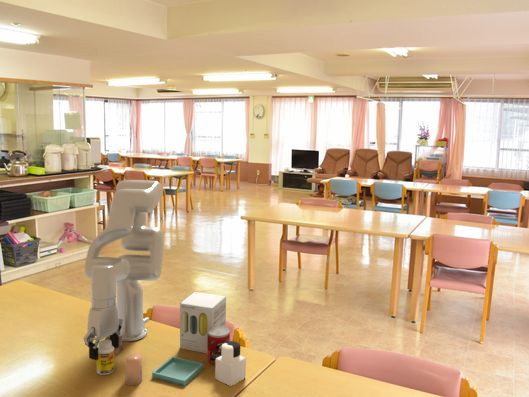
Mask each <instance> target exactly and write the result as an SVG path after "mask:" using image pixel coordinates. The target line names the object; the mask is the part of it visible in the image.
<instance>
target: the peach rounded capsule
mask: <svg viewBox="0 0 529 397" xmlns="http://www.w3.org/2000/svg"><path fill="white" fill-rule="evenodd" d="M142 382H143V355H142V354H139V353H130V354H128V355H126V356H125V384H126V385H128V386H139V385H140V384H141V383H142Z"/></svg>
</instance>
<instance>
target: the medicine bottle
mask: <svg viewBox="0 0 529 397" xmlns="http://www.w3.org/2000/svg"><path fill="white" fill-rule="evenodd" d="M246 363H247V358H246V357H245V356H242V355H241V344H240V343H239V342H238V341H233V340H230V341H228V342H225V343H223V344H222V351H221V356H220V357H218V358H216V360H215V371H214V372H215V373H214V375H215V376H214V379H215V380H217V381H219V382H221V383H223V384H225V385H226V384H227V386H228V385H229V387H233V386H234V385H236V384H238V383H240V382H241V381H243V380H244V378H245V379H246V371H247V369H246V368H247V367H246V366H247V364H246ZM239 381H240V382H239ZM237 382H238V383H237ZM232 385H233V386H232Z"/></svg>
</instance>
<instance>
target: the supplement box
mask: <svg viewBox="0 0 529 397" xmlns="http://www.w3.org/2000/svg"><path fill="white" fill-rule="evenodd" d="M226 310H227V296H225V295H221V294H220V295H219V294H212V293H205V292H198V291H194V292H193V293H192V294H190V295H188V296H187V297H186V298H185V299H184V300H183V301H181V302H180V303H179V349H183V350H187V351H188V350H189V351H193V352H198V353H204V354H207V338H208V330H209V329H210V328H212V327H215V326H223V327H226V328H227V326H226V325H227V323H226V318H227V311H226Z"/></svg>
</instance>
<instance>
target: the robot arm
mask: <svg viewBox="0 0 529 397" xmlns="http://www.w3.org/2000/svg"><path fill="white" fill-rule="evenodd" d="M115 189H116V190H115V192H114V194H113V197H112V202H111V205H110V211H109V215H108V220H107V225H106V227H105V228H104V229H103V230H102V231H101V232H100V233H98V235H97V236H96V237H95V238H93V240H92V242H91V243H90V245H89V246H88V248H87V255H86V258H85V263H84V275H85V276H86V278H88V279H89V280H90V286H91V288H90V290H91V291H90V292H91V296H90V297H91V298H90V299H91V306H90V308H89V312H88V319H87V327H86V328H87V329H86V330H87V333H86V334H85V335H84V337H83V338H82V340H83V341H84V344H85V346H87V348H88V357H89V358H88V359H90V360H93V361H96V360H98V358H99V357H98V347H99V342H100V341H102V340H104V339H105V338H106V337H108V336H110V340H111V342H112V346H113V347H114V348H118V347H119V336H122V342H135V341H137V340H138V341H139V340H141V339H143V338H145V337H146V336H147V335H148V329H147V328H146V327H145V325H146V324H147V323H148V322H150V318H149V317H148V316H146V317H145V318H144V291H143V287H142V285H141V284H140V282H139V281H142V282H143V281H144V282H146V281H147V282H148V281H149V282H151V281H152V282H153V281H157V280H159V278H161V275H162V268H163V257H164V256H163V255H164V244H165V243H164V242H165V236H164V232H163V231H162V229H161V228H159V227H157V226H147V224H146V223H147V214H148V213H151V212H152V211H154V209H155V208H156V207H157V206H158V204H159V202H160V201H161V199H162V196H163V186H162V184H161V183H160V182H159V181H157V180H147V179H146V180H143V179H141V180H140V179H124V180H120V181H119V182H117V183H116V187H115ZM118 240H120V244H121V248H122V250H124V251H128V252H142V253H143V252H146V253H149V254H120V255H119V256H117V257H115V256H114V257H111V256H110V257H109V256H100V253H101V252H102V250H103V249H104V248H105V247H107V245H109V244H111V243H113V242H115V241H118ZM94 341H95V342H94Z"/></svg>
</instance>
